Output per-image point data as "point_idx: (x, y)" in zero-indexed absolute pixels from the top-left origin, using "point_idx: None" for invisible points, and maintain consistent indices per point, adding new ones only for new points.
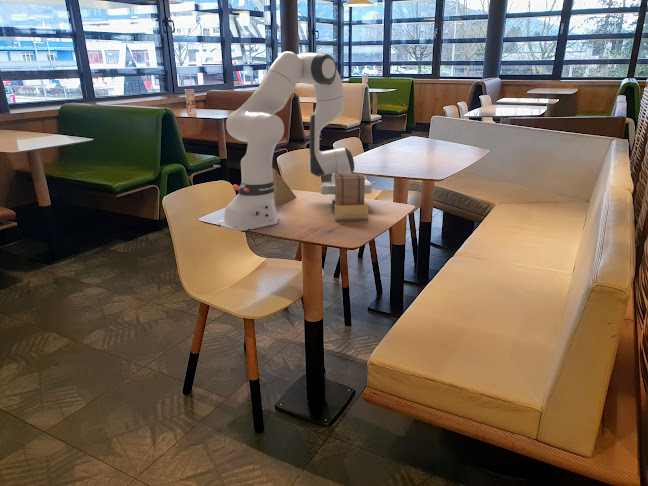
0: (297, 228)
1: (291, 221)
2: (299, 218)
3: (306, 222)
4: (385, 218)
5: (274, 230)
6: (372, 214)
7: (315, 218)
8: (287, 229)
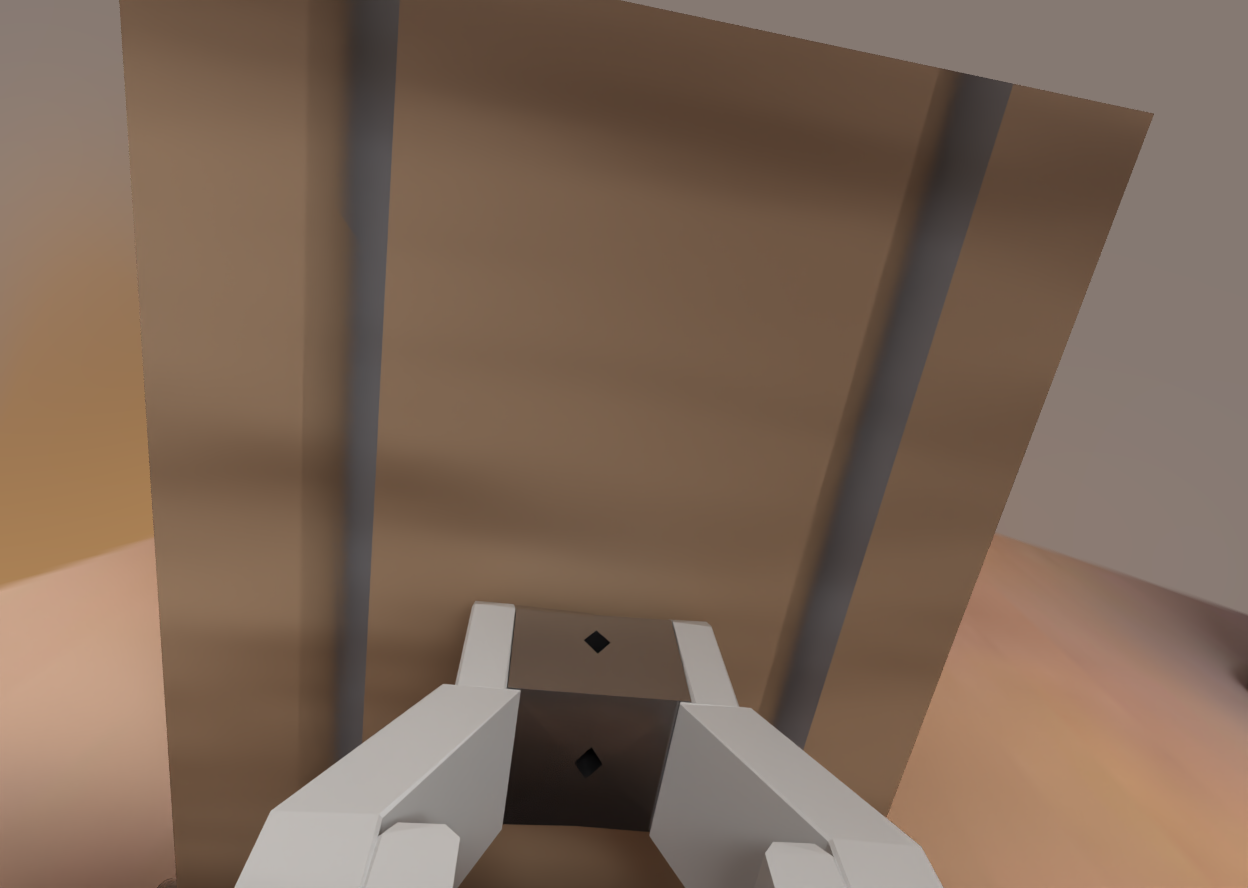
0: (988, 589)
1: (1195, 738)
2: (1209, 826)
3: (1012, 688)
4: (31, 654)
5: (1123, 589)
6: (44, 863)
7: (1000, 795)
8: (1047, 587)
